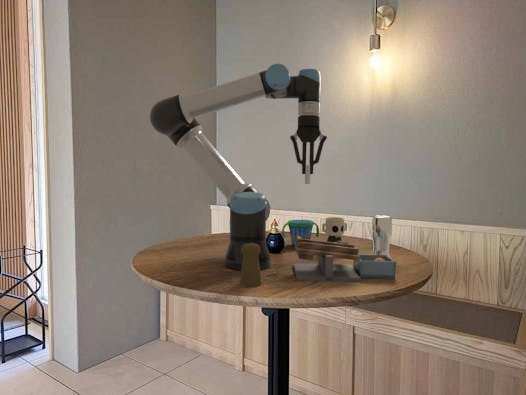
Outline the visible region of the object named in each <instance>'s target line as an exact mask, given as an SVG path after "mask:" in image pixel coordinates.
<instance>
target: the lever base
mask: <svg viewBox="0 0 526 395" xmlns="http://www.w3.org/2000/svg"><path fill="white" fill-rule="evenodd" d="M317 257H318V259H317V263H301V262H299V263H293V269H294V272H295V273H294V274H295V277H296V280H297V281H311V282H312V281H314V282H315V281H317V282H318V281H320V282H321V281H325V282H362V278H361V277H360V276H359V275H358V274H357V273H356V271H355V270H354V269H353V267H352V264H348V263H347V264H345V263H342V264H341V263H337V264H336V263H334V258H333V256H332V255H325V256H317Z"/></svg>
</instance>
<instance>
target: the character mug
mask: <svg viewBox="0 0 526 395" xmlns="http://www.w3.org/2000/svg"><path fill="white" fill-rule="evenodd" d="M321 226H322V227H321V231H322V232H323V233H324V234H325V235H327V236H328V237H327V238H326V242H337V241H343V240H342V237H341V236H344V234H345V231H347V230H348V223H347V221H346V222H345V218H344V217H339V216H338V217H336V216H332V217H331V216H330V217H326V218H325V223H322V224H321Z"/></svg>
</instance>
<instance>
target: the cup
mask: <svg viewBox="0 0 526 395" xmlns="http://www.w3.org/2000/svg"><path fill="white" fill-rule="evenodd" d="M358 255H359V256H360V261H359V260H353V263H352V265H353V267H352V268H353V269H354V270H355V271H356V273H357V274H358V275H359V276H360V277H361V279H384V280H385V279H386V280H387V279H389V280H390V279H391V280H393V279H394V280H395V279H396V271H397V270H396V269H397V268H396V265H397V263H396V260H394V259H393V258H391V257H389V256H390V255H389V256H387V255H372V254H359V253H358ZM376 258H382V259H384V260H385V261H374V260H375V259H376Z"/></svg>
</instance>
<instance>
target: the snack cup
mask: <svg viewBox="0 0 526 395" xmlns="http://www.w3.org/2000/svg"><path fill="white" fill-rule="evenodd" d="M287 226H288V228H289V236H290V243H291V246H294V247H295V242H296V236H301V239H309V240H312V239H311V238H312V234H313V233H312V231H313V228H314V226H316V228H315V229H316V234H315V237H316V238H318V237H320V228H319V225H318V224H317V223H316V222H315V221H313V220H310V219H290V220H288V221H287V222H286V223H285V224H283V227H282V229H281V235H282V236H281V237H282V238H283V239H285V238H286V236H285V228H286V227H287Z"/></svg>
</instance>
